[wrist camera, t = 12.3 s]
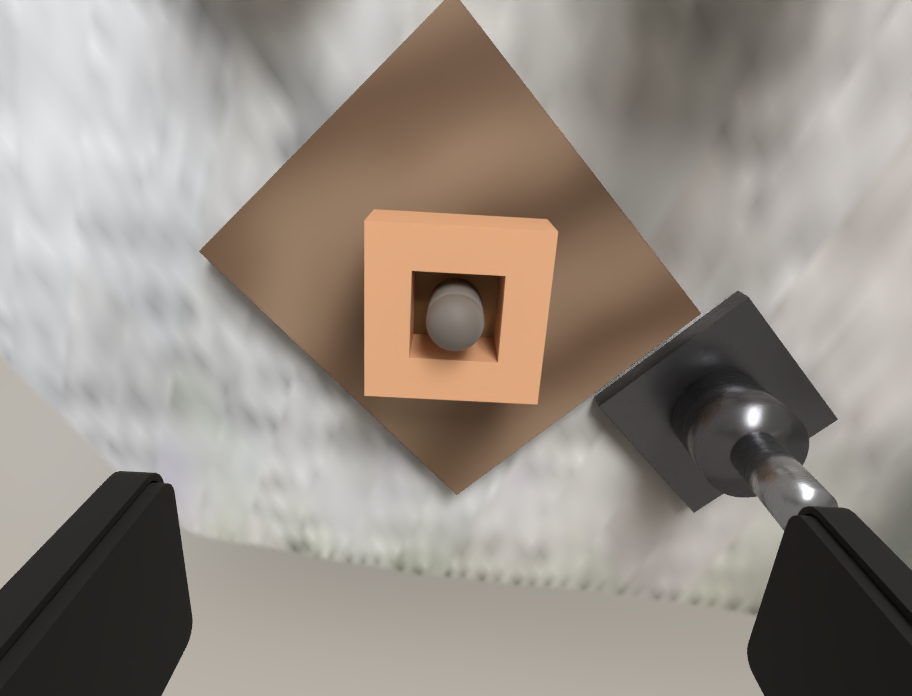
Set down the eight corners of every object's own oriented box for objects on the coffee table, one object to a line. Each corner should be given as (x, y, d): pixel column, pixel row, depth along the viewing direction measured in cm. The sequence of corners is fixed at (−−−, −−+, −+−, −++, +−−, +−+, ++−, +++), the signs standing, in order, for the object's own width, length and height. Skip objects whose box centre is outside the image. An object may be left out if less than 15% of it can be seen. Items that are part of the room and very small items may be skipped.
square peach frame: (547, 219, 22) (558, 231, 19) (529, 376, 24) (537, 404, 22) (373, 209, 22) (364, 220, 19) (373, 368, 24) (364, 395, 22)
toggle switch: (688, 303, 27) (770, 369, 20) (456, 477, 30) (457, 586, 23) (453, -1, 22) (452, -54, 15) (213, 244, 26) (122, 292, 19)
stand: (825, 409, 29) (966, 522, 21) (686, 500, 31) (767, 635, 23) (738, 290, 26) (859, 365, 18) (594, 396, 28) (648, 505, 20)
